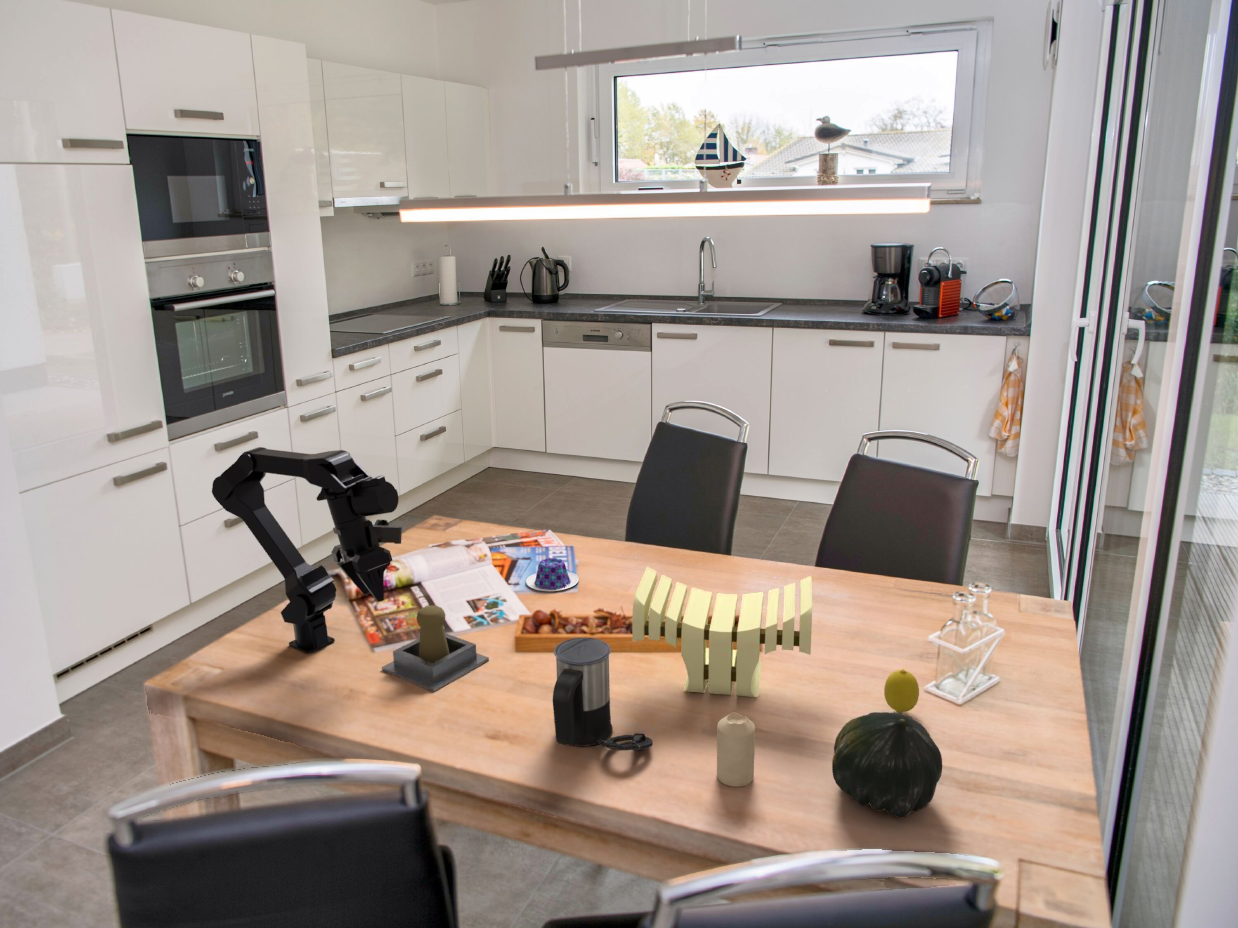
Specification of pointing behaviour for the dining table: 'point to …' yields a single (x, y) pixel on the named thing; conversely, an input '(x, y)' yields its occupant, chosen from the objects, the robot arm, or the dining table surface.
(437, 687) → the collar holder
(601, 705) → the milk frother
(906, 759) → the squash
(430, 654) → the cork
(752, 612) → the slatted curved stool
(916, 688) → the lemon
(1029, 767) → the dining table surface
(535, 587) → the pudding
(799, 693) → the dining table surface
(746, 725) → the candle
